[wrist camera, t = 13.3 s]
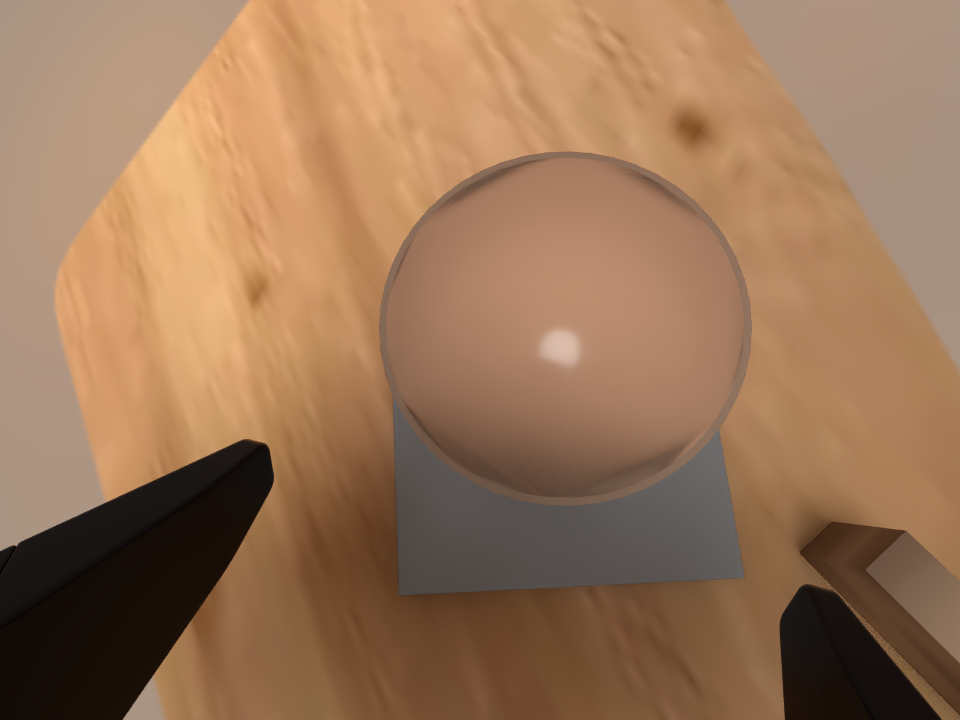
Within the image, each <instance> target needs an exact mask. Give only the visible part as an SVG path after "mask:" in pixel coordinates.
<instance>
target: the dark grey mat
mask: <svg viewBox="0 0 960 720" xmlns="http://www.w3.org/2000/svg"><path fill="white" fill-rule="evenodd" d="M393 414H394V448H395V481H396V514H397V548H398V581H399V595H419V594H438V593H458V592H478V591H498V590H517V589H537V588H557V587H577V586H596V585H616V584H636V583H655V582H675V581H695V580H715V579H734V578H745V577H744V572H743V566H742V560H741V554H740V548H739V543H738V537H737V531H736V525H735V519H734V514H733V508H732V502H731V496H730V491H729V485H728V479H727V473H726V467H725V462H724V456H723V450H722V444H721V439H720V433H719V429H718V430H717V432H716V433H715V434H714V436H713V437H712V438H711V440H710V441H709V442H708V443H707V444H706V445H705V446H704V447H703V448H702V449H701V450H700V451H699V452H698V453H697V454H696V455H695V456H694V457H693V458H692V459H691V460H690V461H688V462H687V463H686V464H684V465H683V466H682V467H680V468H679V469H678V470H676V471H675V472H674V473H673V474H671V475H669V476H668V477H666V478H664V479H662V480H661V481H659V482H657V483H655V484H653V485H652V486H650V487H648V488H645V489H643V490H640V491H638V492H635V493H633V494H630V495H627V496H625V497H622V498H617V499H613V500H609V501H605V502H601V503H595V504H585V505H575V506H563V505H543V504H537V503H531V502H525V501H520V500H516V499H513V498H510V497H507V496H504V495H500V494H497V493H494V492H492V491H490V490H488V489H486V488H484V487H481V486H479V485H477V484H475V483H473V482H471V481H470V480H468V479H466V478H465V477H463V476H462V475H460V474H459V473H457V472H455V471H454V470H452V469H451V468H450V467H449V466H447V465H446V464H445V463H444V462H443V461H441V460H440V459H439V458H438V457H437V456H436V455H434V454H433V453H432V452H431V451H430V450H429V449H428V447H427V446H426V445H425V444H424V443H423V442H422V441H421V440H420V439H419V437H418V436H417V435H416V434H415V432H414V431H413V429H412V428H411V426H410V425H409V424H408V422H407V421H406V419H405V418H404V416H403V415H402V413H401V411H400V409H399V407H398V405H397V403H396V401H395V399H394V397H393Z"/></svg>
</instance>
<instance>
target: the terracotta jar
mask: <svg viewBox="0 0 960 720" xmlns="http://www.w3.org/2000/svg"><path fill="white" fill-rule="evenodd" d="M379 332H380V348H381V355H382V360H383V365H384V370H385V374H386V377H387V380H388V383H389V386H390V389H391V392H392V395H393V397H394V399H395V401H396V403H397V405H398V407H399V409H400V411H401V413H402V415H403V416H404V418H405V419H406V421H407V422H408V424H409V425H410V426H411V428H412V429H413V431H414V432H415V434H416V435H417V436H418V437H419V439H420V440H421V441H422V442H423V443H424V444H425V445H426V446H427V447H428V449H429V450H430V451H431V452H432V453H433V454H434V455H436V456H437V457H438V458H439V459H440V460H441V461H443V462H444V463H445V464H446V465H447V466H449V467H450V468H451V469H452V470H454V471H455V472H457V473H459V474H460V475H462V476H463V477H465V478H466V479H468V480H470V481H471V482H473V483H475V484H477V485H479V486H481V487H484V488H486V489H488V490H490V491H492V492H494V493H497V494H500V495H504V496H507V497H510V498H513V499H516V500H520V501H525V502H531V503H537V504H543V505H563V506H575V505H585V504H595V503H601V502H605V501H609V500H613V499H617V498H622V497H625V496H627V495H630V494H633V493H635V492H638V491H640V490H643V489H645V488H648V487H650V486H652V485H653V484H655V483H657V482H659V481H661V480H662V479H664V478H666V477H668V476H669V475H671V474H673V473H674V472H675V471H676V470H678V469H679V468H680V467H682V466H683V465H684V464H686V463H687V462H688V461H690V460H691V459H692V458H693V457H694V456H695V455H696V454H697V453H698V452H699V451H700V450H701V449H702V448H703V447H704V446H705V445H706V444H707V443H708V442H709V441H710V440H711V438H712V437H713V436H714V434H715V433H716V432H717V430H718V429H719V428H720V426H721V425H722V424H723V422H724V421H725V419H726V417H727V415H728V414H729V412H730V410H731V408H732V406H733V404H734V403H735V401H736V399H737V396H738V394H739V391H740V388H741V385H742V383H743V380H744V377H745V374H746V369H747V365H748V360H749V355H750V349H751V332H752V322H751V311H750V301H749V297H748V292H747V288H746V284H745V279H744V277H743V274H742V271H741V269H740V266H739V264H738V261H737V258H736V256H735V254H734V252H733V251H732V249H731V247H730V245H729V243H728V242H727V240H726V238H725V236H724V235H723V233H722V232H721V231H720V229H719V228H718V227H717V225H716V224H715V223H714V221H713V220H712V219H711V217H710V216H709V215H708V214H707V213H706V212H705V211H704V210H703V209H702V208H701V207H700V206H699V205H698V204H697V203H696V202H695V201H694V200H693V199H692V198H690V197H689V196H688V195H687V194H685V193H684V192H683V191H682V190H681V189H679V188H678V187H677V186H675V185H674V184H672V183H670V182H669V181H667V180H665V179H664V178H662V177H661V176H659V175H657V174H655V173H653V172H651V171H649V170H647V169H644V168H642V167H640V166H638V165H636V164H632V163H629V162H626V161H623V160H620V159H617V158H613V157H608V156H603V155H598V154H593V153H581V152H549V153H541V154H534V155H528V156H523V157H519V158H516V159H512V160H509V161H505V162H502V163H499V164H497V165H494V166H492V167H490V168H487V169H485V170H482V171H480V172H478V173H477V174H475V175H473V176H471V177H469V178H468V179H466V180H464V181H462V182H461V183H460V184H458V185H457V186H455V187H454V188H453V189H451V190H450V191H448V192H447V193H446V194H444V195H443V196H442V197H441V198H440V199H439V200H438V201H437V202H436V203H435V204H433V205H432V206H431V207H430V208H429V209H428V210H427V211H426V213H425V214H424V215H423V216H422V217H421V218H420V220H419V221H418V222H417V223H416V224H415V225H414V227H413V228H412V230H411V231H410V233H409V234H408V236H407V237H406V239H405V240H404V242H403V243H402V245H401V247H400V249H399V251H398V253H397V255H396V257H395V259H394V262H393V264H392V266H391V269H390V272H389V275H388V278H387V281H386V284H385V288H384V293H383V298H382V303H381V311H380V325H379Z"/></svg>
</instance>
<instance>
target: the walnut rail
mask: <svg viewBox="0 0 960 720" xmlns="http://www.w3.org/2000/svg"><path fill="white" fill-rule="evenodd" d="M800 553H801V554H802V555H803V557H804V558H805V559H806V560H807V561H808V562H809V563H810V564H811V565H812V566H813V567H814V568H815V569H816V570H817V571H818V572H819V573H820V574H821V575H822V576H823V577H824V578H825V579H826V580H827V581H828V582H829V583H830V584H831V585H832V586H833V587H834V588H835V589H836V590H837V591H838V592H839V593H840V594H841V595H842V596H843V597H844V598H845V599H846V600H847V601H848V602H849V603H850V604H851V605H852V606H853V607H854V608H855V609H856V610H857V611H858V612H859V613H860V614H861V615H862V616H863V617H864V618H865V619H866V620H867V621H868V622H869V623H870V624H871V625H872V626H873V627H874V628H875V629H876V631H877V632H878V633H879V634H880V635H881V636H882V637H883V638H884V639H885V640H886V641H887V642H888V643H889V644H890V645H891V646H892V647H893V648H894V649H895V650H896V651H897V652H898V653H899V654H900V655H901V656H902V657H903V658H904V659H905V660H906V661H907V662H908V663H909V664H910V665H911V666H912V667H913V668H914V669H915V670H916V671H917V672H918V673H919V674H920V675H921V676H922V677H923V678H924V679H925V680H926V681H927V682H928V683H929V684H930V685H931V686H932V687H933V688H934V689H935V690H936V691H937V692H938V693H939V694H940V695H941V696H942V697H943V698H944V699H945V700H946V701H947V702H948V703H949V705H950V706H951V707H952V708H953V709H954V710H955V711H956V712H957V713H958V714H959V715H960V581H959V580H958V579H957V578H956V577H955V576H954V575H952V574H951V573H950V572H949V571H948V570H947V569H946V568H945V567H944V566H943V565H942V564H941V563H940V562H939V561H938V560H937V559H935V558H934V557H933V556H932V555H931V554H930V553H929V552H928V551H927V550H926V549H925V548H924V547H923V546H922V545H921V544H920V543H918V542H917V541H916V540H915V539H914V538H913V537H912V536H911V535H910V534H909V533H908V532H907V531H904V530H896V529H887V528H879V527H871V526H863V525H855V524H846V523H838V522H832V523H831V524H830V525H829V526H828V527H827V528H826V529H825V530H824V531H823V532H821V533H820V534H819V535H818V536H817V537H816V538H815V539H814V540H813V541H812V542H811V543H810V544H809V545H808V546H807V547H806V548H805V549H804V550H802V551H801V552H800Z"/></svg>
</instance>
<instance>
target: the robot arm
mask: <svg viewBox="0 0 960 720" xmlns="http://www.w3.org/2000/svg"><path fill="white" fill-rule="evenodd" d="M273 481H274V473H273V467H272V462H271V456H270V450H269V447H268V446H267V445H266V444H265V443H262V442H258V441H254V440H250V439H244V440H241V441H239V442H236V443H234V444H232V445H230V446H228V447H226V448H223V449H221V450H219V451H217V452H215V453H212V454H210V455H208V456H206V457H204V458H202V459H199V460H197V461H195V462H193V463H191V464H189V465H186V466H184V467H182V468H180V469H178V470H176V471H173V472H171V473H169V474H167V475H165V476H163V477H160V478H158V479H156V480H154V481H152V482H150V483H147V484H145V485H143V486H141V487H139V488H137V489H134V490H132V491H130V492H128V493H126V494H124V495H121V496H119V497H117V498H115V499H113V500H110V501H108V502H106V503H104V504H102V505H100V506H97V507H95V508H93V509H91V510H89V511H87V512H84V513H83V514H81V515H78V516H76V517H74V518H71V519H69V520H67V521H65V522H63V523H61V524H58V525H56V526H54V527H52V528H50V529H48V530H45V531H43V532H41V533H39V534H37V535H35V536H32V537H30V538H28V539H26V540H24V541H21V542H20V543H19V544H18V545H17V546H10V547H8V548H6V549H4V550H2V551H0V720H123V718H124V717H125V715H126V714H127V712H128V711H129V710H130V708H131V707H132V705H133V704H134V702H135V701H136V700H137V698H138V697H139V695H140V694H141V692H142V691H143V689H144V688H145V686H146V685H147V683H148V682H149V681H150V679H151V678H152V676H153V675H154V673H155V672H156V671H157V669H158V668H159V666H160V665H161V663H162V662H163V660H164V659H165V657H166V656H167V655H168V653H169V652H170V650H171V649H172V647H173V646H174V644H175V643H176V641H177V640H178V639H179V637H180V636H181V634H182V633H183V631H184V630H185V628H186V627H187V626H188V624H189V623H190V621H191V620H192V618H193V617H194V615H195V614H196V612H197V611H198V610H199V608H200V607H201V605H202V604H203V602H204V601H205V599H206V598H207V597H208V595H209V594H210V592H211V591H212V589H213V588H214V586H215V585H216V583H217V582H218V581H219V579H220V578H221V576H222V575H223V573H224V572H225V570H226V569H227V567H228V566H229V564H230V562H231V561H232V559H233V557H234V556H235V554H236V552H237V550H238V549H239V547H240V545H241V543H242V541H243V539H244V538H245V536H246V534H247V532H248V530H249V529H250V527H251V525H252V523H253V521H254V519H255V518H256V516H257V514H258V512H259V510H260V509H261V507H262V505H263V503H264V501H265V499H266V498H267V496H268V494H269V492H270V490H271V488H272V485H273ZM780 645H781V663H782V680H783V697H784V714H785V720H942V719H941V718H940V717H939V715H938V714H937V713H936V712H935V711H934V709H933V708H932V707H931V706H930V705H929V703H928V702H927V701H926V700H925V699H924V697H923V696H922V695H921V694H920V692H919V691H918V690H917V689H916V688H915V686H914V685H913V684H912V683H911V682H910V680H909V679H908V678H907V677H906V676H905V674H904V673H903V672H902V671H901V670H900V668H899V667H898V666H897V665H896V664H895V662H894V661H893V660H892V659H891V658H890V656H889V655H888V654H887V653H886V652H885V650H884V649H883V648H882V647H881V646H880V644H879V643H878V642H877V641H876V640H875V638H874V637H873V636H872V635H871V634H870V632H869V631H868V630H867V629H866V628H865V626H864V625H863V624H862V623H861V621H860V620H859V619H858V618H857V617H856V615H855V614H854V613H853V612H852V611H851V609H850V608H849V607H848V606H847V605H846V603H845V602H844V601H843V600H842V599H841V597H840V596H839V595H838V594H836V593H835V592H834V591H832V590H829V589H825V588H822V587H818V586H814V585H810V584H805V585H803V586H801V587H800V588H799V590H798V591H797V593H796V594H795V596H794V597H793V599H792V600H791V602H790V603H789V605H788V606H787V608H786V609H785V611H784V612H783V614H782V617H781V620H780Z"/></svg>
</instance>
